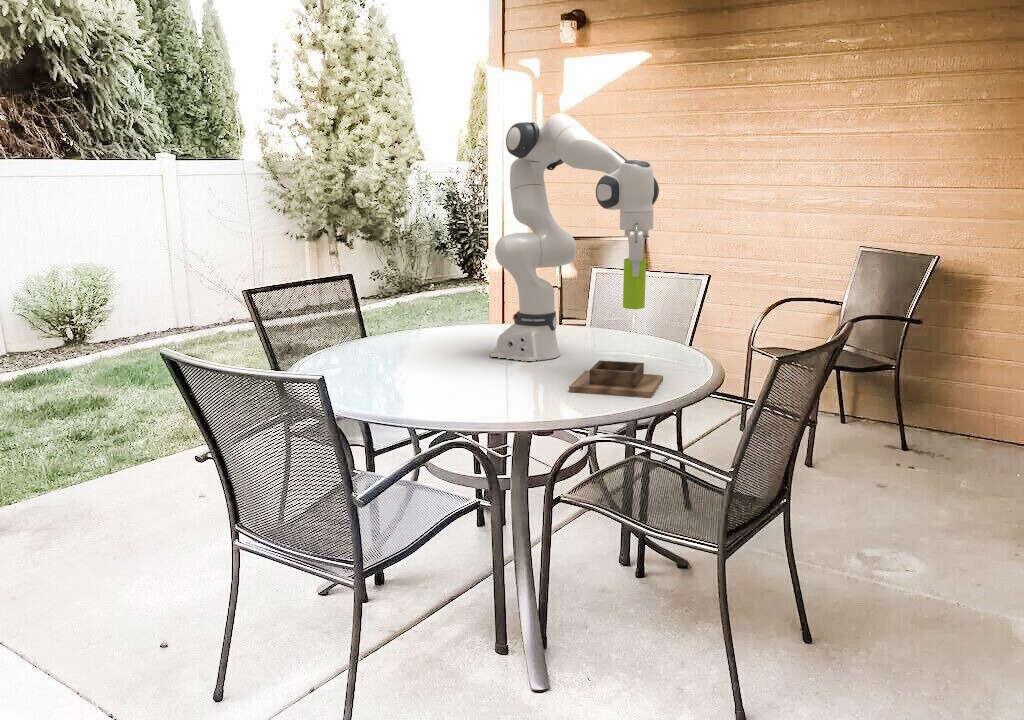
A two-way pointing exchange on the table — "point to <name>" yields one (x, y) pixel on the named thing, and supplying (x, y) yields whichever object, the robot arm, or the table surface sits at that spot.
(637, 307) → the soap dispenser
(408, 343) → the table surface
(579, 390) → the caddy
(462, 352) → the table surface
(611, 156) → the robot arm
